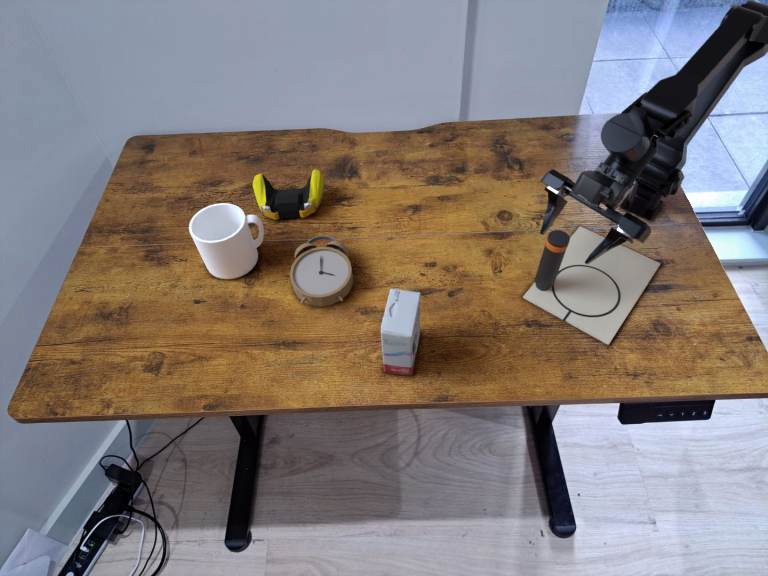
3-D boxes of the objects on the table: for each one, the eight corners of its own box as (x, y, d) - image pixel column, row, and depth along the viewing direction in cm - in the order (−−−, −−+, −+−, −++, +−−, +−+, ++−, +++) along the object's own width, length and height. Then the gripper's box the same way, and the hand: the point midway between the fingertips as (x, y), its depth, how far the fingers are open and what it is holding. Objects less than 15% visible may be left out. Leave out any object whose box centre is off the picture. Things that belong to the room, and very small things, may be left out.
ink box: (412, 377, 82) (412, 338, 73) (382, 372, 83) (379, 332, 73) (420, 333, 87) (421, 291, 78) (392, 328, 88) (390, 286, 78)
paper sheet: (579, 227, 101) (580, 225, 100) (660, 264, 94) (661, 263, 94) (521, 299, 91) (522, 297, 90) (607, 346, 84) (608, 345, 83)
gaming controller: (258, 191, 111) (254, 223, 105) (251, 171, 107) (247, 203, 101) (326, 186, 111) (326, 218, 105) (323, 165, 107) (322, 198, 101)
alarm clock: (288, 301, 89) (289, 229, 96) (293, 313, 93) (294, 244, 100) (352, 296, 89) (349, 225, 96) (355, 308, 93) (351, 239, 100)
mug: (207, 284, 95) (188, 247, 87) (206, 247, 102) (188, 209, 93) (274, 270, 97) (261, 233, 89) (268, 234, 103) (256, 195, 95)
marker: (530, 279, 93) (544, 231, 83) (548, 276, 93) (564, 227, 83) (537, 294, 90) (552, 247, 81) (556, 291, 91) (573, 243, 81)
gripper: (560, 127, 80) (503, 212, 85) (670, 184, 71) (599, 276, 75) (578, 147, 89) (526, 222, 94) (677, 200, 80) (614, 281, 85)
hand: (563, 248), depth 87 cm, fingers open, 9 cm apart
